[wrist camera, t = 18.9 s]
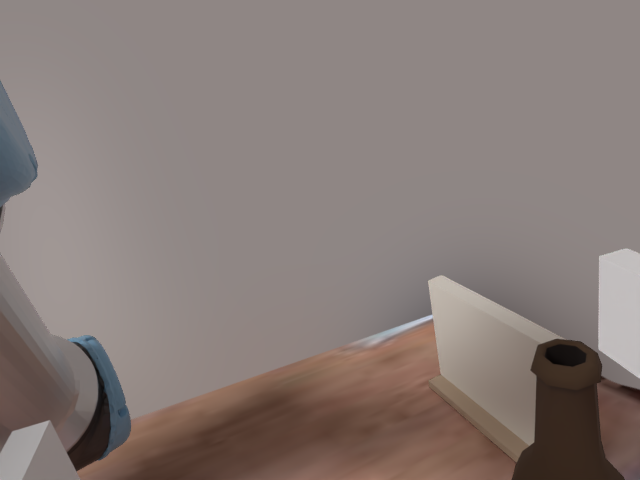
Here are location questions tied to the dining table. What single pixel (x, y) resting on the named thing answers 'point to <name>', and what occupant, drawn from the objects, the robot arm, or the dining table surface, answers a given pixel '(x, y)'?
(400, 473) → the dining table surface
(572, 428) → the beer bottle
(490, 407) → the screen
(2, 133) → the robot arm
